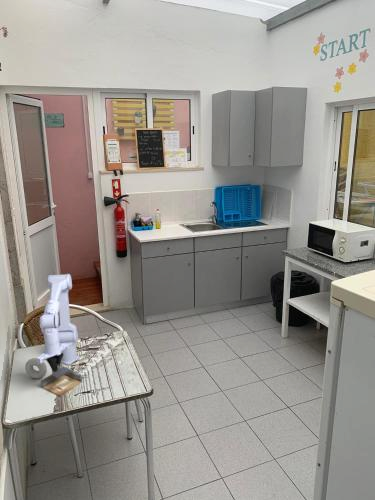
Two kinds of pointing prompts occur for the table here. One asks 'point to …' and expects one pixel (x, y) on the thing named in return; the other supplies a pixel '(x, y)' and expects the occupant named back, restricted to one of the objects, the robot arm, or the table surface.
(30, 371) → the donut
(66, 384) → the tray
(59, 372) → the bracket
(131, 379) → the table surface
